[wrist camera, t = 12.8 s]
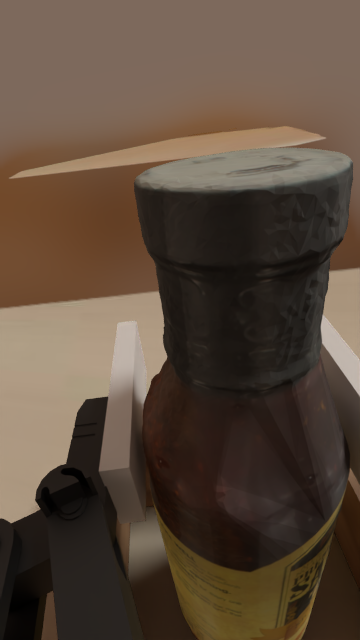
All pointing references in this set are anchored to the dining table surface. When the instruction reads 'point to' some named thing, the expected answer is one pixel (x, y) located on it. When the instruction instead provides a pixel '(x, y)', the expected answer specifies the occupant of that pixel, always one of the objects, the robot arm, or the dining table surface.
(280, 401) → the sauce bottle
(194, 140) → the dining table surface
